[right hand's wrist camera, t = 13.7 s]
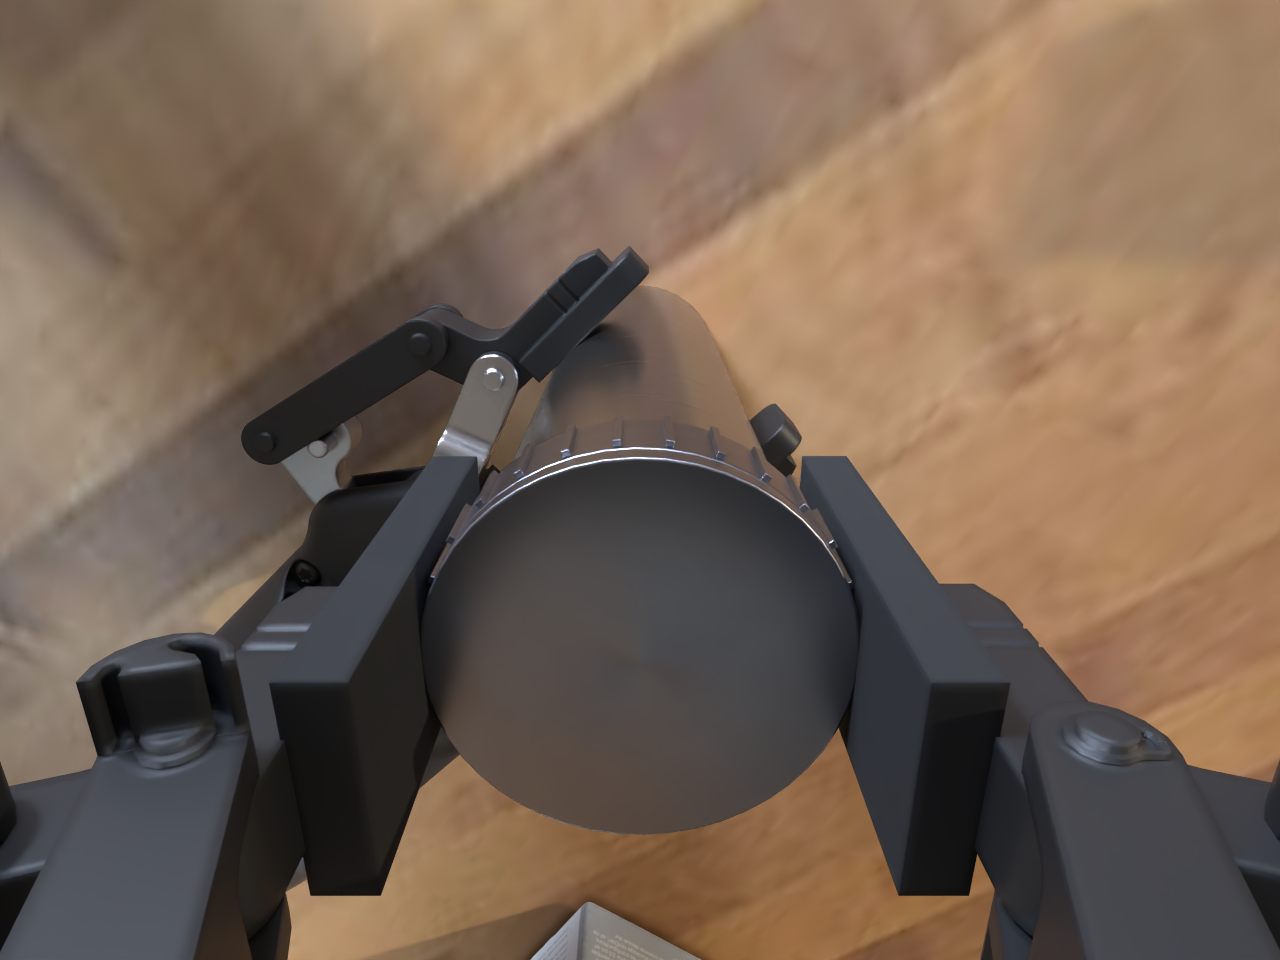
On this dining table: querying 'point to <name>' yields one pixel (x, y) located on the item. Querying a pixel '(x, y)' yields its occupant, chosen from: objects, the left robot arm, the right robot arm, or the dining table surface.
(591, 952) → the hard drive box
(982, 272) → the dining table surface
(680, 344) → the grey metal cylinder
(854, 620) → the lid
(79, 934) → the right robot arm
